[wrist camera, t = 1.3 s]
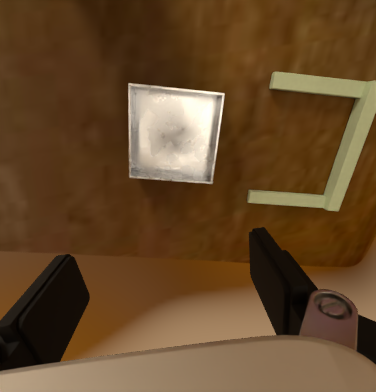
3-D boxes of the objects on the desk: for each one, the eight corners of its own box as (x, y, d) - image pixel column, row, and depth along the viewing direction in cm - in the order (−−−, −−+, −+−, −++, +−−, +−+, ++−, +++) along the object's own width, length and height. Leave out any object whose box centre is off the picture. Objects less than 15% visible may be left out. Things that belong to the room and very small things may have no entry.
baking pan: (133, 86, 29) (128, 82, 25) (219, 95, 29) (224, 93, 26) (134, 171, 33) (129, 177, 30) (209, 177, 34) (212, 184, 30)
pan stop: (272, 72, 29) (278, 69, 27) (374, 84, 30) (387, 82, 28) (246, 200, 35) (250, 205, 33) (330, 206, 36) (338, 211, 34)
